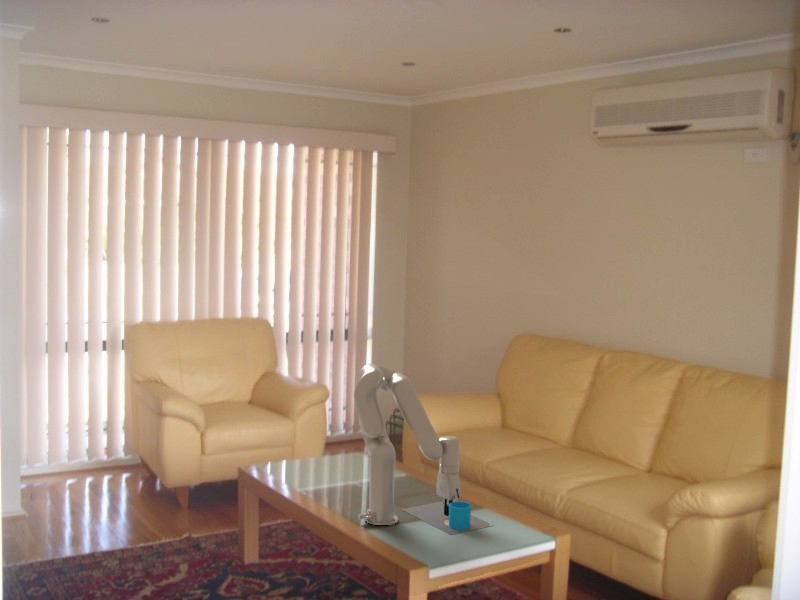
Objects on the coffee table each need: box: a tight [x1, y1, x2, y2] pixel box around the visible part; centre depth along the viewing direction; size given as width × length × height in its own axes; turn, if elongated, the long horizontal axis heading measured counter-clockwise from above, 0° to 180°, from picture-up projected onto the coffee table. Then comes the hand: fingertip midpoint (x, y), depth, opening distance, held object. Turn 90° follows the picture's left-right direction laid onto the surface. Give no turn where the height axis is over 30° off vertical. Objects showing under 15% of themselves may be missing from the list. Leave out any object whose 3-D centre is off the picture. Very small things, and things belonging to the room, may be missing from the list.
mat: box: [400, 500, 491, 536], centre depth 334 cm, size 20×34×1 cm, turn 33°
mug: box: [449, 501, 472, 530], centre depth 325 cm, size 12×8×8 cm
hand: (448, 514), depth 333 cm, fingers closed
